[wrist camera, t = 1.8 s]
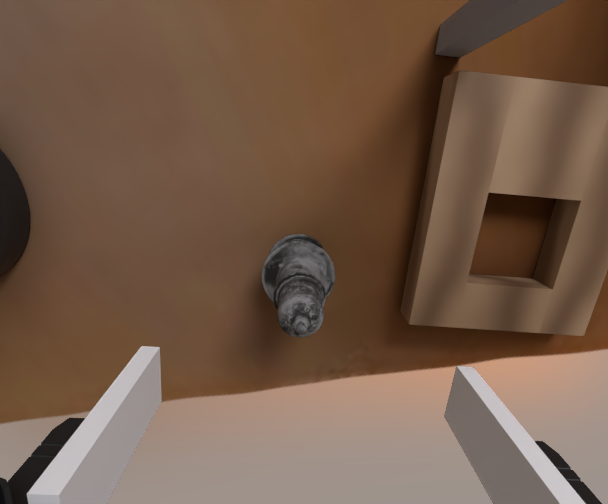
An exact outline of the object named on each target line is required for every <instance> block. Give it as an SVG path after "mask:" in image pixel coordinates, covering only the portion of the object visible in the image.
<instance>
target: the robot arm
mask: <svg viewBox="0 0 608 504" xmlns="http://www.w3.org/2000/svg"><path fill="white" fill-rule="evenodd" d="M29 229H30V212H29V205H28V200H27V196H26V193H25V190H24V187H23V185H22V182H21V180H20V178H19V176H18V174H17V172H16V171H15V169H14V167H13V166H12V164H11V162H10V161H9V160H8V158H7V157H6V156H5V154H4V153H3V152H2V151H1V149H0V276H1V275H3V274H4V273H6V272H7V271H8V270H9V269H10V268H11V267H12V266H13V265H14V264H15V263H16V262H17V260H18V259H19V258H20V256H21V254H22V252H23V250H24V248H25V246H26V243H27V239H28V235H29ZM160 403H161V371H160V347H148V346H141V348H140V349H139V350H138V351H137V353H136V354H135V355H134V357H133V358H132V359H131V360H130V362H129V363H128V364H127V366H126V367H125V368H124V369H123V371H122V372H121V373H120V375H119V376H118V377H117V378H116V380H115V381H114V382H113V384H112V385H111V386H110V387H109V389H108V390H107V391H106V393H105V394H104V395H103V396H102V398H101V399H100V400H99V402H98V403H97V404H96V405H95V407H94V408H93V409H92V411H91V412H90V413H89V414H88V416H87V417H86V418H69V419H67V420H66V421H64V422H63V423H61V424H60V425H59V426H57V427H56V428H54V429H53V430H52V431H51V432H50V434H49V435H48V436H47V437H46V438H45V440H44V441H43V442H42V443H41V446H38V447H37V449H36V450H35V451H34V452H33V453H32V455H31V457H29V458H28V459H27V460H26V461H25V463H24V464H23V465H22V466H21V467H20V468H19V470H18V471H17V472H16V473H15V474H14V475H13V476H12V478H11V479H10V480H9V481H8V482H7V481H6V480H5V479H3V478H0V504H107V502H108V501H109V499H110V497H111V495H112V493H113V491H114V489H115V487H116V486H117V484H118V482H119V480H120V478H121V476H122V474H123V472H124V471H125V469H126V467H127V465H128V463H129V461H130V459H131V457H132V455H133V453H134V452H135V450H136V448H137V446H138V444H139V442H140V440H141V438H142V436H143V435H144V433H145V431H146V429H147V427H148V425H149V423H150V421H151V419H152V418H153V416H154V414H155V412H156V410H157V408H158V406H159V404H160ZM444 416H445V419H446V421H447V422H448V424H449V426H450V427H451V429H452V431H453V433H454V435H455V437H456V438H457V440H458V442H459V444H460V445H461V447H462V449H463V451H464V453H465V454H466V456H467V458H468V459H469V461H470V463H471V465H472V467H473V468H474V470H475V472H476V474H477V476H478V477H479V479H480V481H481V483H482V485H483V486H484V488H485V490H486V492H487V493H488V495H489V497H490V499H491V500H492V502H493V504H602V503H601V502H600V501H599V500H598V499H597V498H596V496H595V495H594V494H593V493H592V492H591V491H590V489H589V488H588V487H587V486H586V485H585V484H584V483H583V482H581V481H580V478H579V477H578V476H577V474H576V473H575V472H574V471H573V470H571V469H570V467H569V465H568V464H567V463H566V462H565V461H564V459H563V458H562V457H561V456H560V455H559V454H558V453H557V452H556V451H554V450H553V449H552V448H550V447H549V446H548V445H547V444H545V443H544V442H542V441H534V440H533V439H532V438H531V437H530V435H529V434H528V433H527V432H526V431H525V429H524V428H523V427H522V426H521V425H520V423H519V422H518V421H517V420H516V418H515V417H514V416H513V415H512V414H511V413H510V411H509V410H508V409H507V407H506V406H505V405H504V404H503V403H502V401H501V400H500V399H499V398H498V397H497V395H496V394H495V393H494V392H493V390H492V389H491V388H490V387H489V386H488V384H487V383H486V382H485V381H484V380H483V378H482V377H481V376H480V375H479V373H478V372H477V371H476V370H475V369H474V367H465V366H457V367H456V371H455V375H454V379H453V383H452V387H451V391H450V395H449V399H448V403H447V407H446V411H445V415H444Z"/></svg>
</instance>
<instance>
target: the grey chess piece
mask: <svg viewBox="0 0 608 504" xmlns="http://www.w3.org/2000/svg"><path fill="white" fill-rule="evenodd" d="M262 283H263V287H264V290H265V292H266V293H267V295H268V296H269V298H270V299H271V300H272V301H274V304H275V307H276V308H277V310H278V315H277V318H278V322H279V325H280V327H281V328H282V330H283V331H284V332H285V333H287V334H289V335H290V336H293V337H307V336H310V335H312V334H314V333H315V332H316V331H317V330H318V329H319V328H320V327H321V325H322V322H323V319H324V311H323V306H324V303H325V301H326V298H327V297H328V296H329V294H330V293H331V291H332V289H333V286H334V283H335V269H334V264H333V262H332V260H331V259H330V257H329V255H328V254H327V253H326V252H325V250H324V248H323V247H322V245H321V244H320V243H319V242H318V241H317V240H315V239H314V238H312V237H310V236H307V235H303V234H293V235H289V236H286V237H284V238H282V239H280V240H279V241H278V242H277V243H276V244H275V245H274V246H273V248H272V250H271V251H270V254H269V256H268V257H267V259H266V261H265V262H264V266H263V269H262Z"/></svg>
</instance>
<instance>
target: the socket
mask: <svg viewBox="0 0 608 504" xmlns="http://www.w3.org/2000/svg"><path fill="white" fill-rule="evenodd" d="M488 193H500V194H511V195H522V196H533V197H545V198H556V202H555V205H554V208H553V212H552V215H551V218H550V222H549V225H548V228H547V232H546V235H545V238H544V242H543V245H542V249H541V252H540V255H539V259H538V262H537V265H536V269H535V272H534V275H533V278H520V277H507V276H494V275H480V274H469V272H470V268H471V264H472V259H473V255H474V251H475V247H476V243H477V239H478V235H479V230H480V226H481V222H482V218H483V214H484V210H485V206H486V201H487V197H488ZM607 270H608V87H605V86H596V85H587V84H578V83H569V82H560V81H551V80H542V79H532V78H523V77H514V76H505V75H496V74H487V73H478V72H469V71H460V70H459V71H457V72H455V73H453V74H451V75H448V76H446V77H444V79H443V84H442V90H441V95H440V101H439V106H438V111H437V117H436V122H435V127H434V133H433V138H432V143H431V149H430V154H429V159H428V165H427V170H426V175H425V181H424V186H423V191H422V197H421V202H420V208H419V213H418V218H417V224H416V229H415V234H414V240H413V245H412V250H411V256H410V261H409V266H408V272H407V277H406V282H405V288H404V293H403V298H402V304H401V309H400V312H401V313H402V315H403V316H404V318H405V319H406V321H407V322H408V324H409V325H423V326H439V327H454V328H469V329H484V330H500V331H515V332H530V333H545V334H561V335H576V336H584V334H585V331H586V328H587V326H588V323H589V320H590V317H591V315H592V312H593V309H594V306H595V304H596V301H597V298H598V295H599V292H600V290H601V287H602V284H603V281H604V279H605V276H606V273H607Z"/></svg>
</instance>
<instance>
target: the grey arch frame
mask: <svg viewBox="0 0 608 504" xmlns="http://www.w3.org/2000/svg"><path fill="white" fill-rule="evenodd" d="M565 1H567V0H469V1H468V2H467V3H466V4H465V5H463V6H462V7H461V8H460V9H459V10H457V11H456V12H455V13H454V14H453V15H451V16H450V17H449V18H448V19H447V20H445V21H444V22H443V23H442V24H441V25H440V30H439V35H438V41H437V47H436V52H435V55H443V56H452V57H462V56H464V55H466V54H468V53H470V52H472V51H474V50H475V49H477V48H479V47H481V46H483V45H485V44H487V43H488V42H490V41H492V40H494V39H496V38H498V37H500V36H502V35H503V34H505V33H507V32H509V31H511V30H513V29H515V28H517V27H518V26H520V25H522V24H524V23H526V22H528V21H530V20H531V19H533V18H535V17H537V16H539V15H541V14H543V13H545V12H546V11H548V10H550V9H552V8H554V7H556V6H558V5H560V4H561V3H563V2H565Z"/></svg>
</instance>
